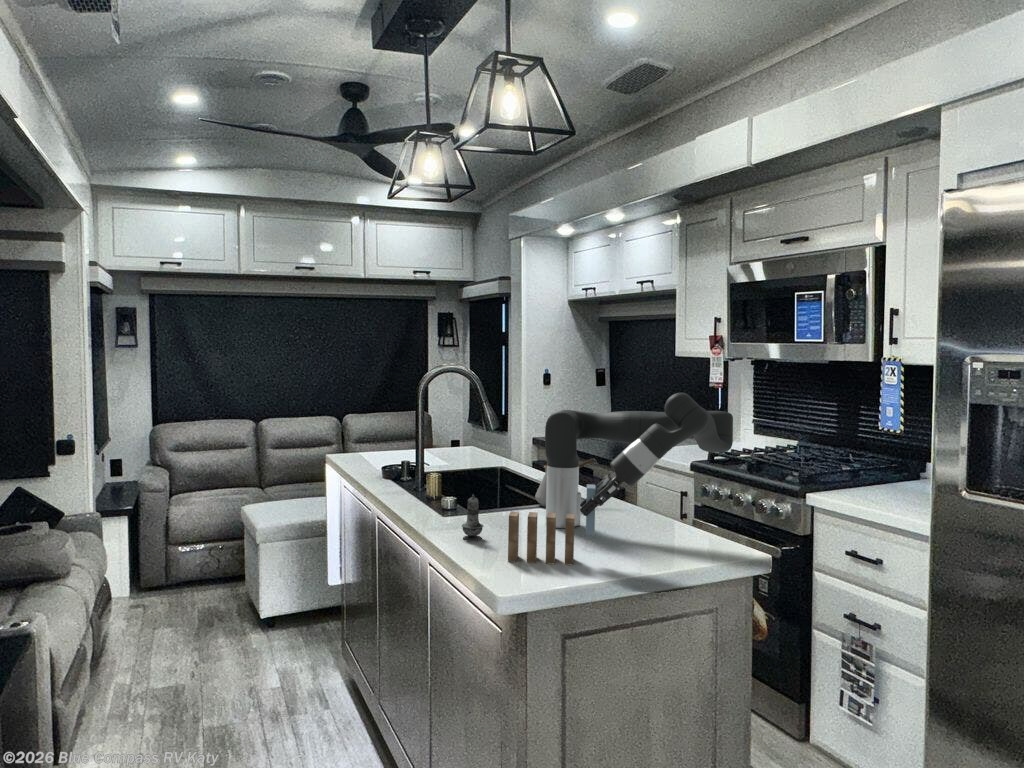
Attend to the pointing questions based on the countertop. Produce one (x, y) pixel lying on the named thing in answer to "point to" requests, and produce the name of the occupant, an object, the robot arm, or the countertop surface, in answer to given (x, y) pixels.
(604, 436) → the robot arm
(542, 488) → the coffee pot
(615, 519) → the countertop surface
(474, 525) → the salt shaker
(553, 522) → the domino
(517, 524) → the domino
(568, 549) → the domino
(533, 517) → the domino
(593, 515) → the blue domino
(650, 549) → the countertop surface
